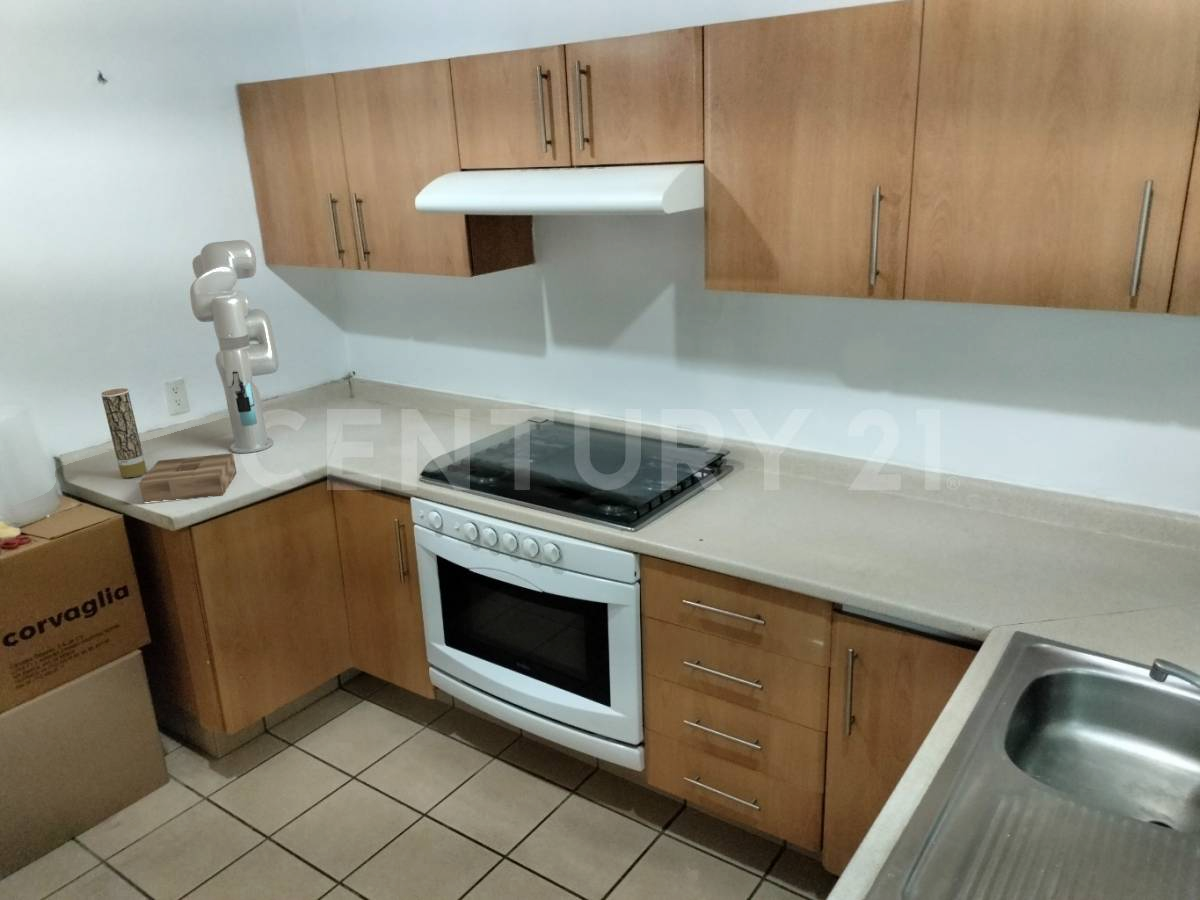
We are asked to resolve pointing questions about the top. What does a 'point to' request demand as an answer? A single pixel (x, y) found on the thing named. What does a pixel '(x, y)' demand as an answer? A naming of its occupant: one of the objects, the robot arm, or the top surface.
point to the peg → (250, 416)
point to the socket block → (188, 478)
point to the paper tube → (124, 432)
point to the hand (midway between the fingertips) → (246, 408)
